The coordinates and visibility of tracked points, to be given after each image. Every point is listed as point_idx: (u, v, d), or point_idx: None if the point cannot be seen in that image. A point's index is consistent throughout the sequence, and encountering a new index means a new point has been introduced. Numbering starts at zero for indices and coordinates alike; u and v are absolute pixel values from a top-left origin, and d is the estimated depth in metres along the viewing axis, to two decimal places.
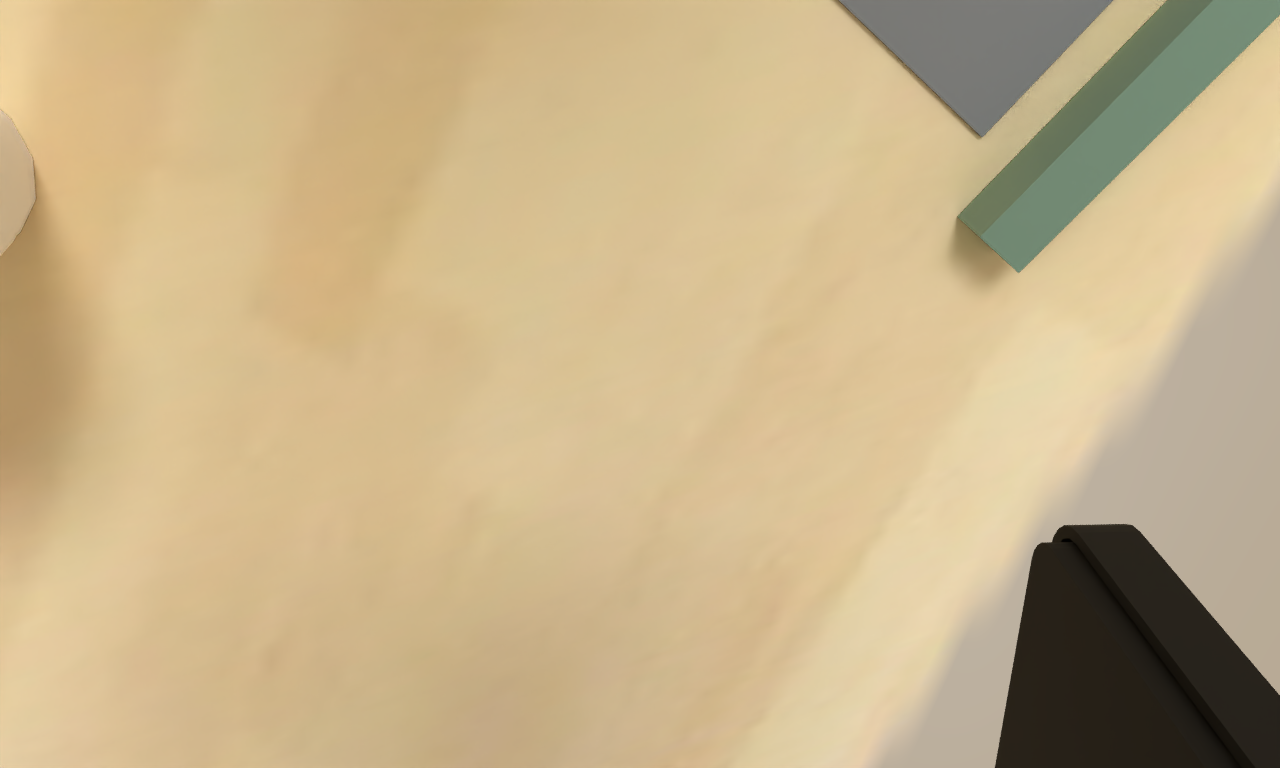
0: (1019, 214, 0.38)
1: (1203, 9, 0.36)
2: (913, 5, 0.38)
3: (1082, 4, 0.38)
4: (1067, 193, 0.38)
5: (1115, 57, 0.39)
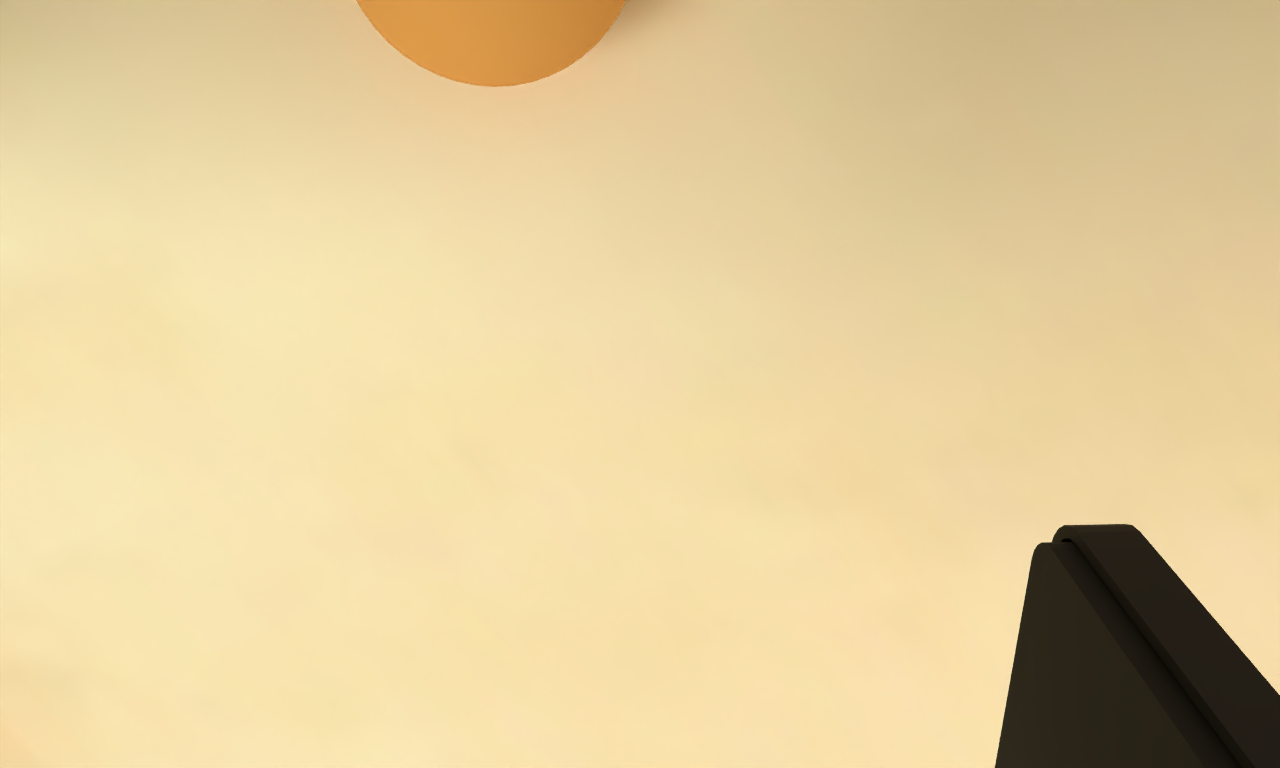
0: None
1: None
2: None
3: None
4: None
5: None
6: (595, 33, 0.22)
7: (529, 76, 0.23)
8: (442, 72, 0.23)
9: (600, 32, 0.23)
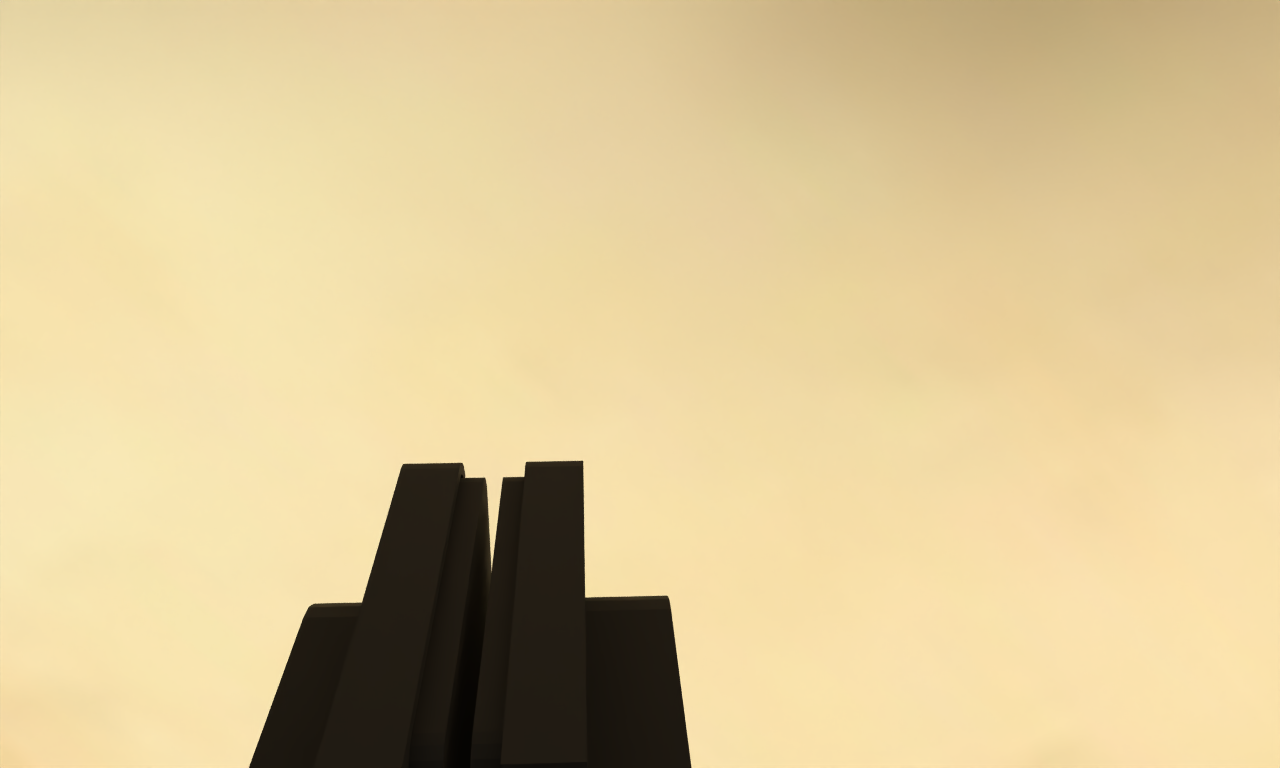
0: None
1: None
2: None
3: None
4: None
5: None
6: None
7: None
8: None
9: None
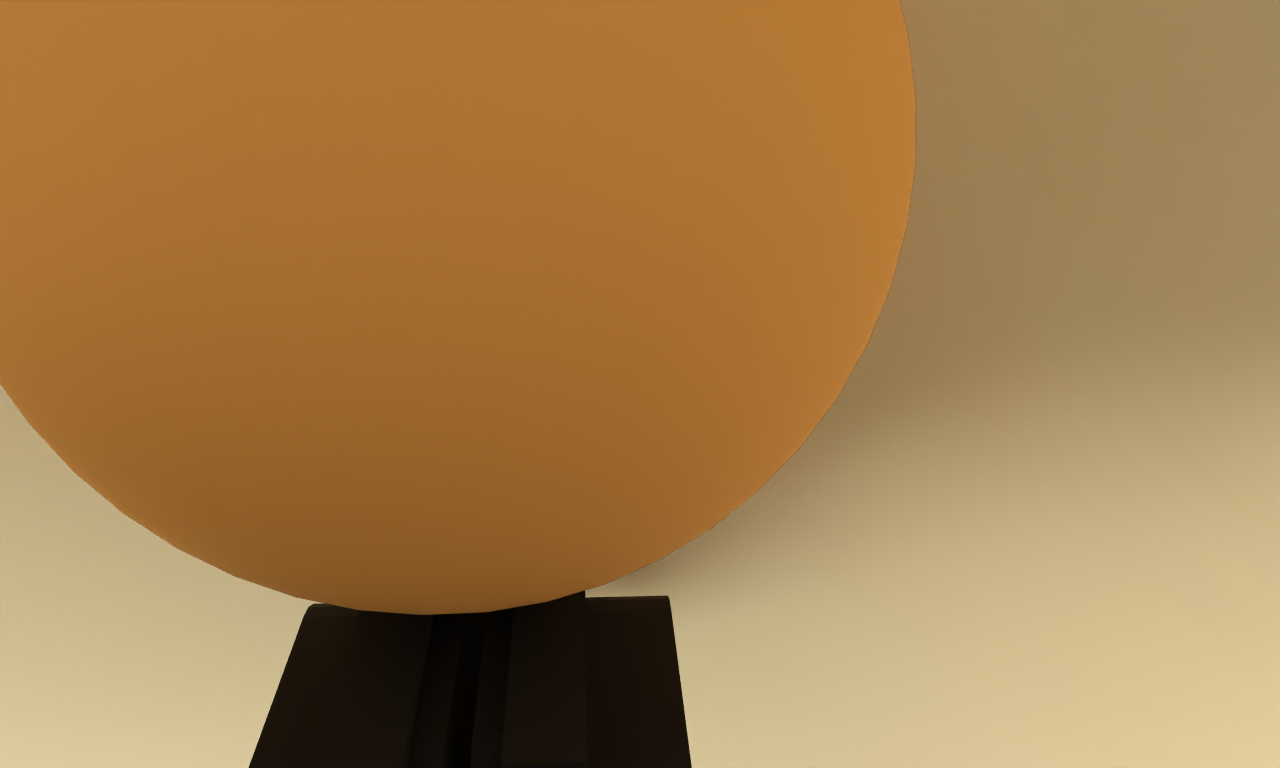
0: None
1: None
2: None
3: None
4: None
5: None
6: (850, 364, 0.07)
7: (662, 552, 0.07)
8: (373, 610, 0.07)
9: (858, 358, 0.07)
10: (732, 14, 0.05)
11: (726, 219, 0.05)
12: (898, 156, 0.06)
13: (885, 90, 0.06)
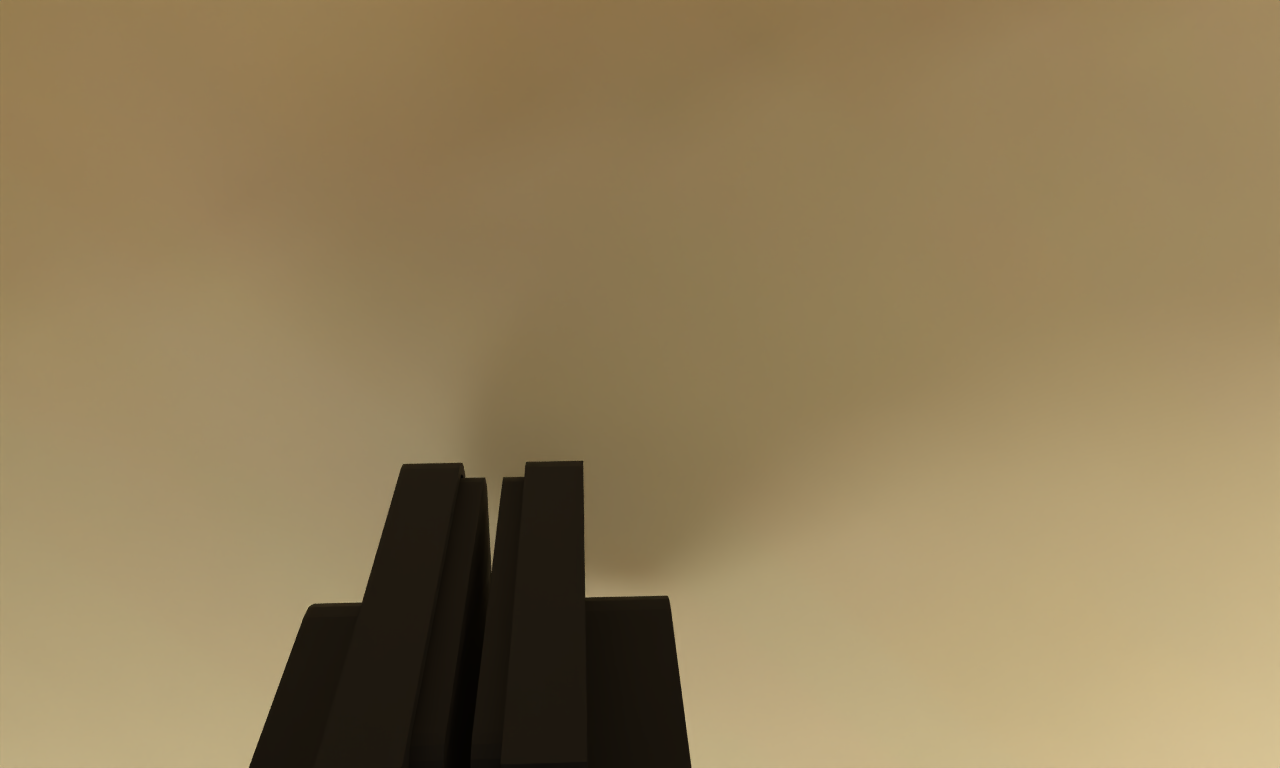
0: None
1: None
2: None
3: None
4: None
5: None
6: None
7: None
8: None
9: None
10: None
11: None
12: None
13: None
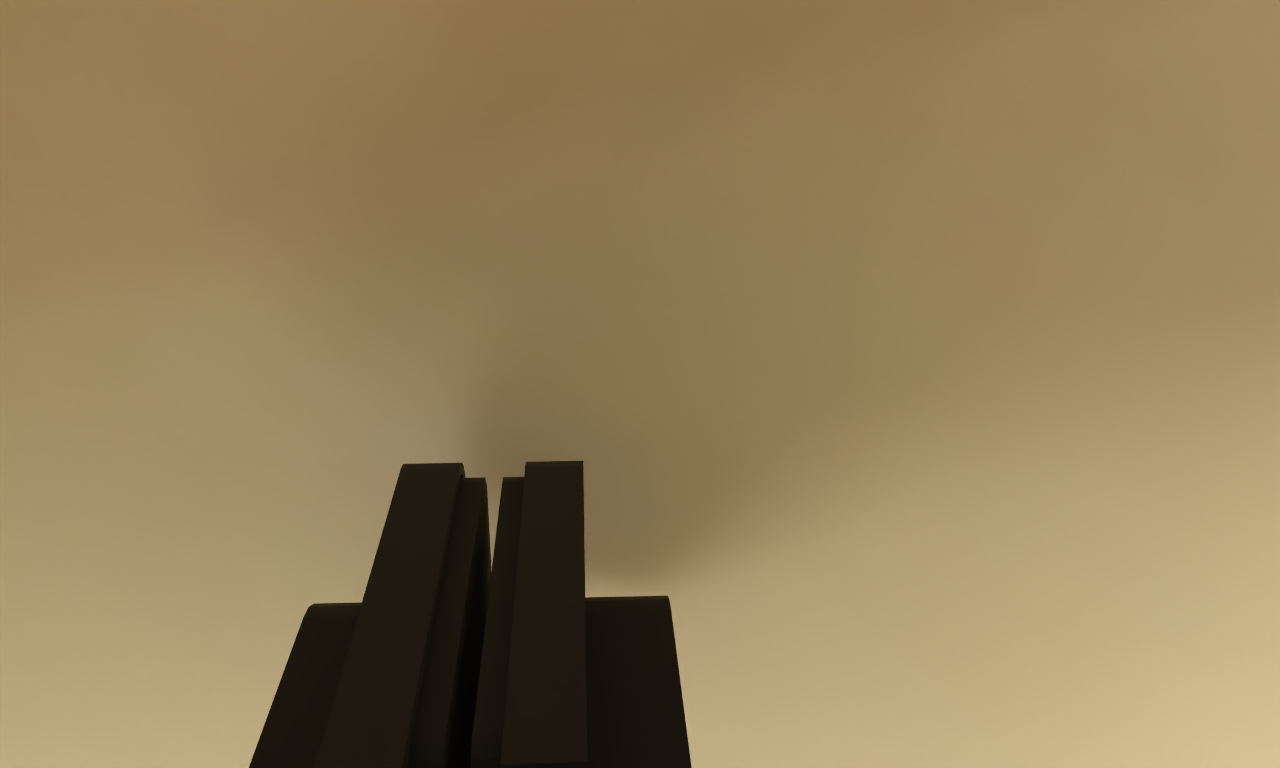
0: None
1: None
2: None
3: None
4: None
5: None
6: None
7: None
8: None
9: None
10: None
11: None
12: None
13: None
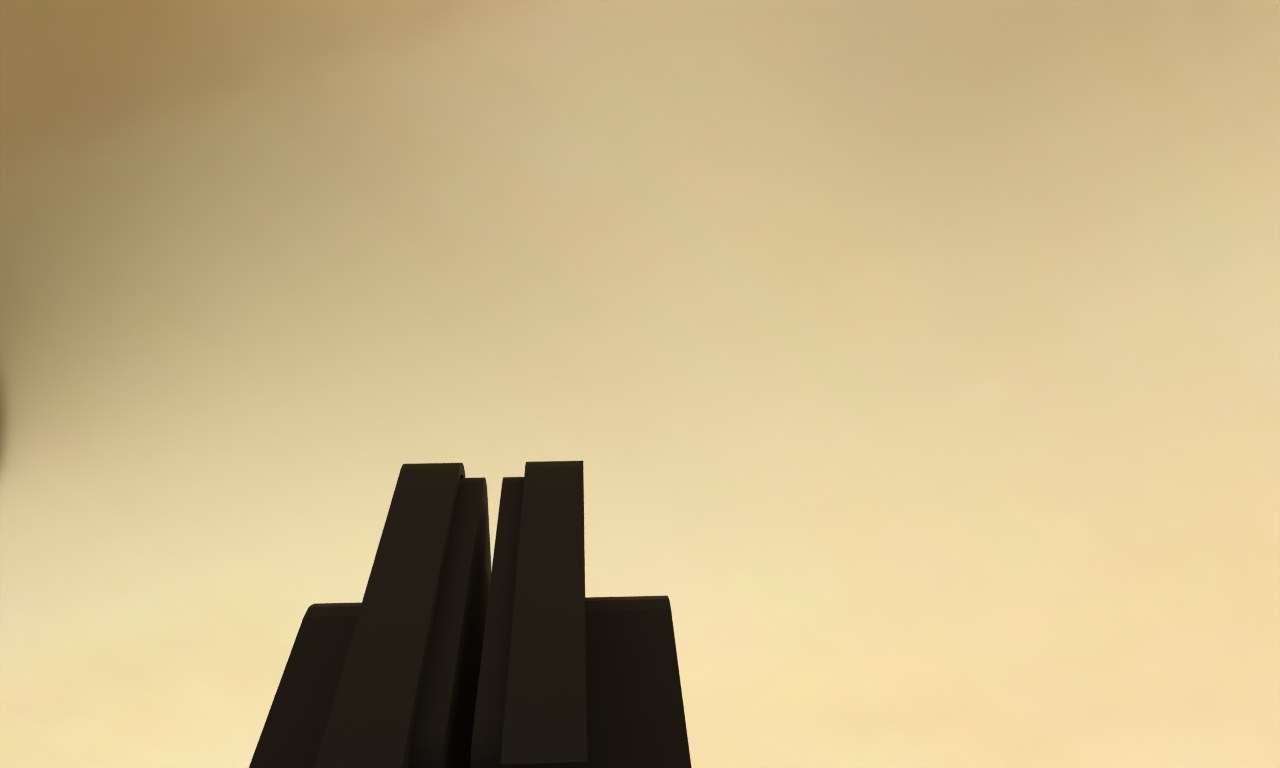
0: None
1: None
2: None
3: None
4: None
5: None
6: None
7: None
8: None
9: None
10: None
11: None
12: None
13: None
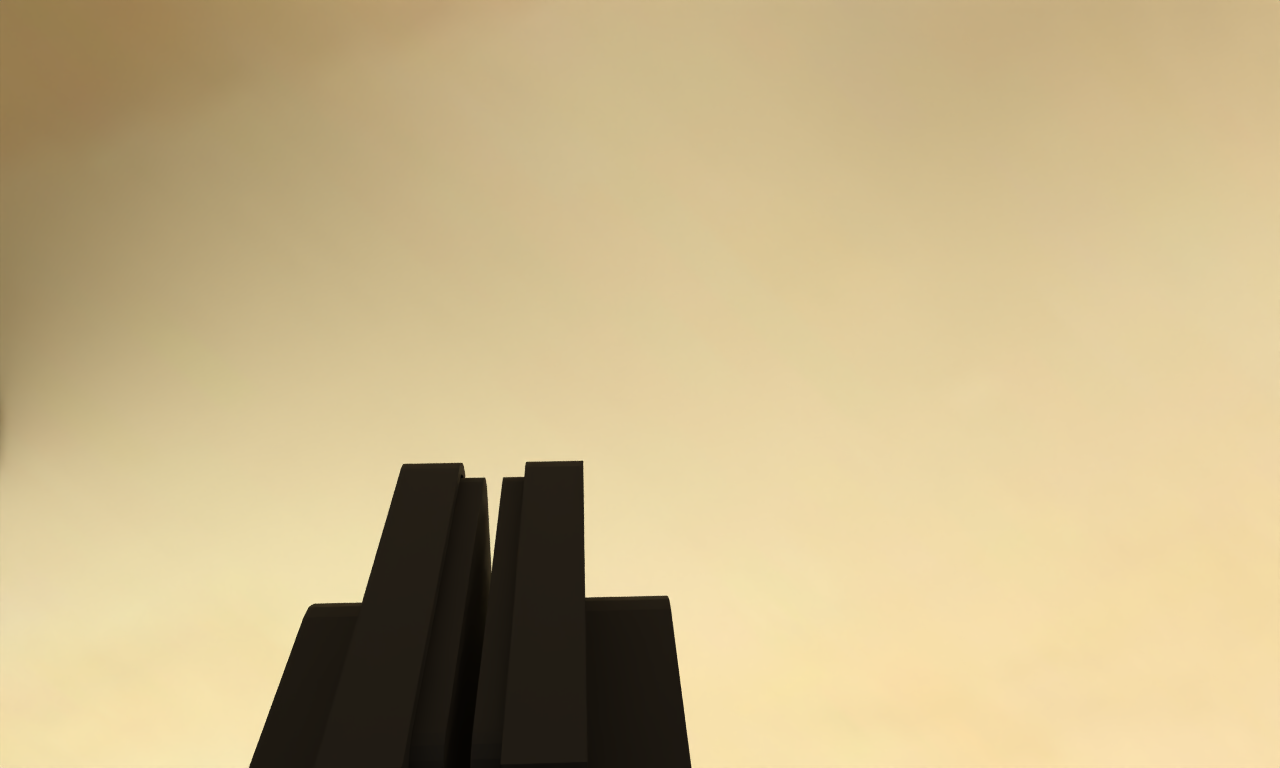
0: None
1: None
2: None
3: None
4: None
5: None
6: None
7: None
8: None
9: None
10: None
11: None
12: None
13: None
